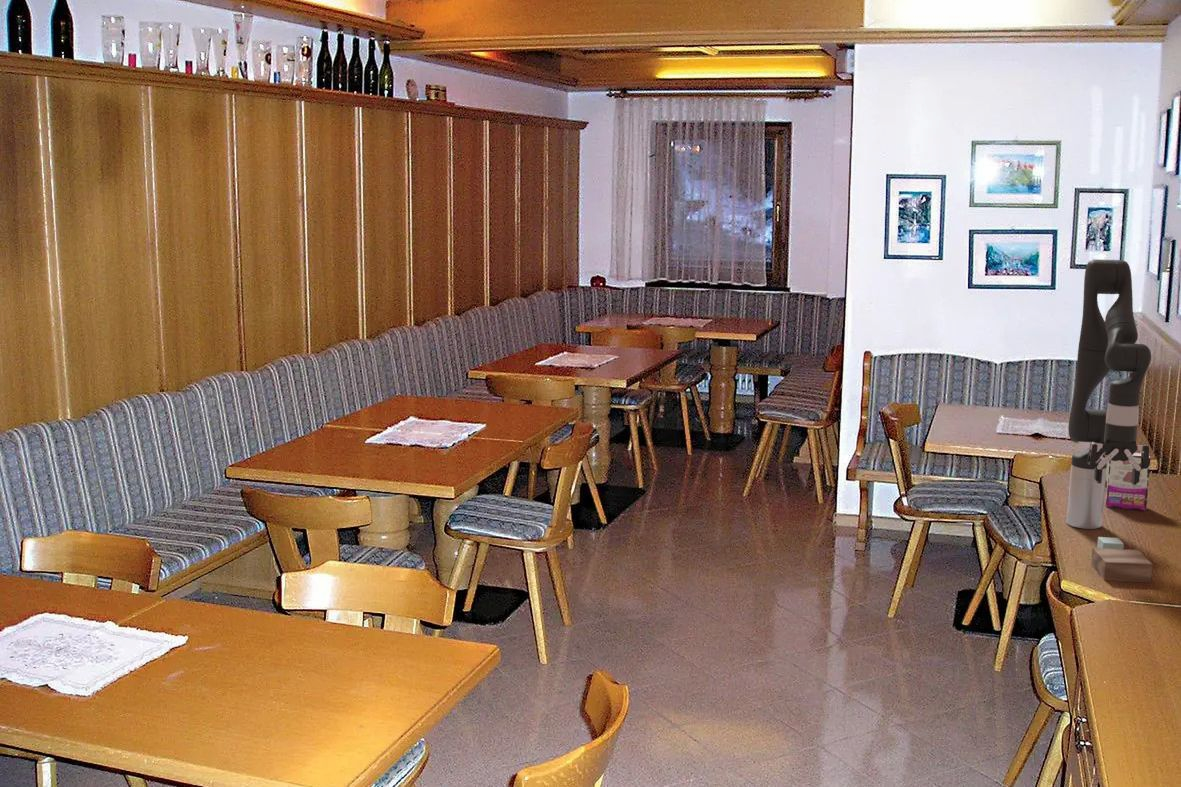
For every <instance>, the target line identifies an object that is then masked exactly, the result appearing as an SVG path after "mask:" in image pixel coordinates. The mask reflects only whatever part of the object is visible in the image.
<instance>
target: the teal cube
mask: <svg viewBox="0 0 1181 787" xmlns="http://www.w3.org/2000/svg"><path fill="white" fill-rule="evenodd" d="M1124 547H1125V546H1124V542H1123V541H1121V538H1119V537H1108V536H1107V537H1105V536H1098V537H1097V544H1096V548H1105V549H1124Z"/></svg>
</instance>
